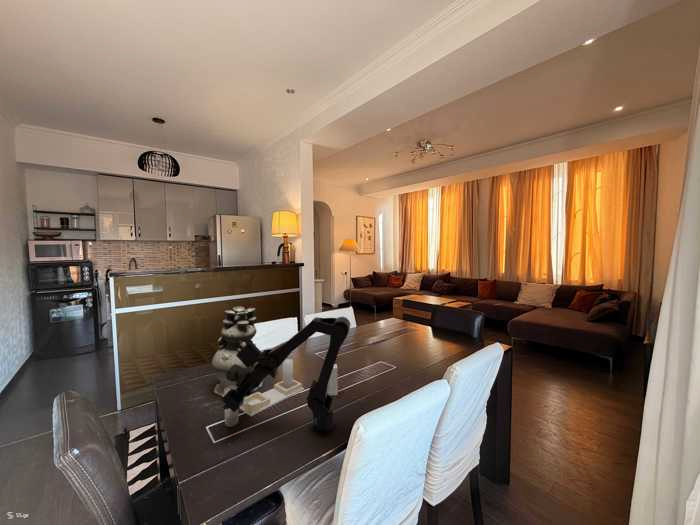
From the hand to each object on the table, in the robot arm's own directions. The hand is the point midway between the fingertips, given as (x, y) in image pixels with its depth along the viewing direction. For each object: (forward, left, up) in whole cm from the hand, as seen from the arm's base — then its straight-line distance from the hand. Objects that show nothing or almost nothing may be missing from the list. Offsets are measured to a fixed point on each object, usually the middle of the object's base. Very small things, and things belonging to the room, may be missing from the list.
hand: (227, 404), depth 100 cm
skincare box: (-14, -38, -7) cm, 41 cm away
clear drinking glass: (-1, -1, -7) cm, 7 cm away
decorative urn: (+22, -16, -7) cm, 28 cm away
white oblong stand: (+2, -20, -7) cm, 21 cm away
